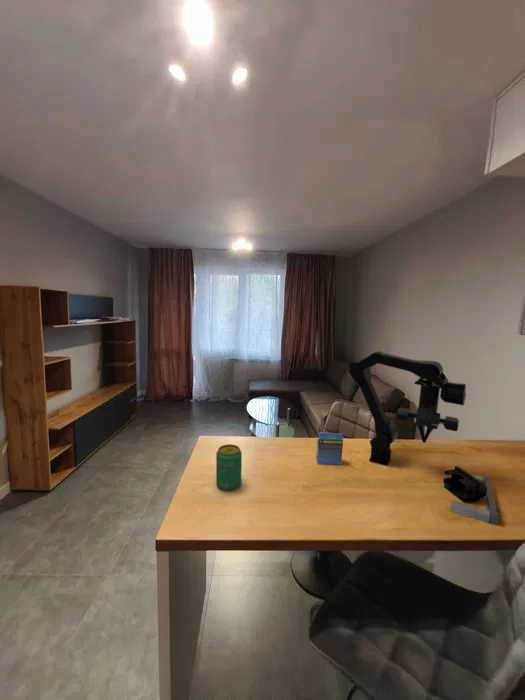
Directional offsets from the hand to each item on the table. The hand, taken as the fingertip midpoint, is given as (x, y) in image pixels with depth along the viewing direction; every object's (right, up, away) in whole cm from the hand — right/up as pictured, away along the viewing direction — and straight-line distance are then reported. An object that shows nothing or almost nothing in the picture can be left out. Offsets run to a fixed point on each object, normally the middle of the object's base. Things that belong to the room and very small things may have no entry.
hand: (424, 442), depth 114 cm
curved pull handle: (+8, -14, -12) cm, 20 cm away
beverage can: (-67, -12, -7) cm, 68 cm away
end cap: (+8, -14, -10) cm, 18 cm away
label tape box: (-31, -10, +8) cm, 34 cm away
